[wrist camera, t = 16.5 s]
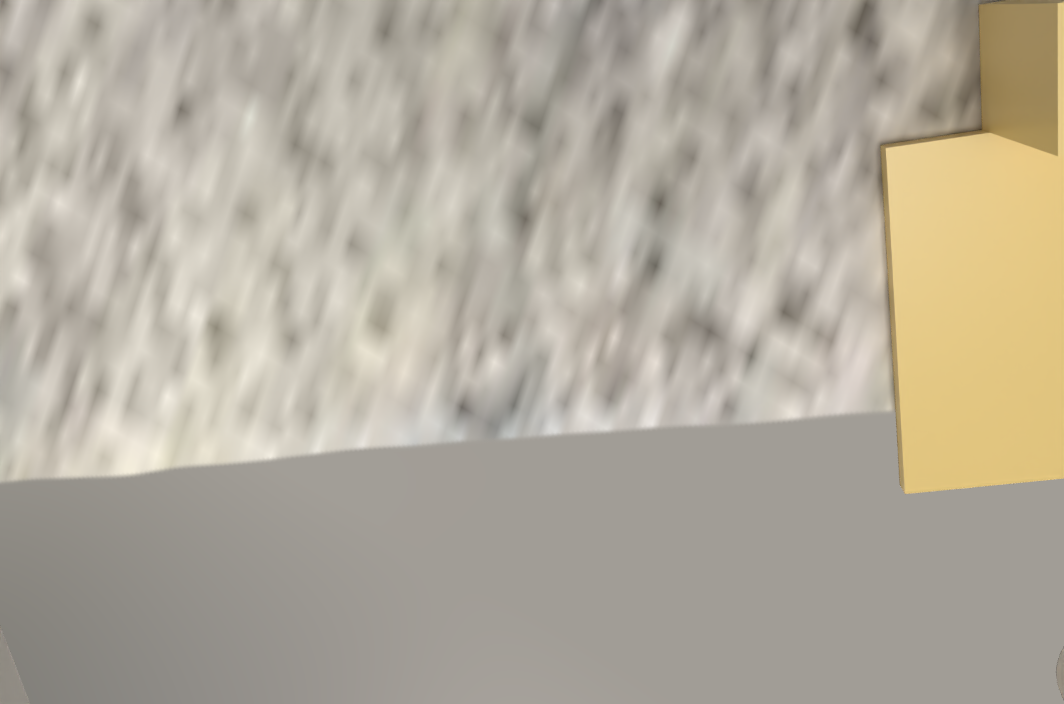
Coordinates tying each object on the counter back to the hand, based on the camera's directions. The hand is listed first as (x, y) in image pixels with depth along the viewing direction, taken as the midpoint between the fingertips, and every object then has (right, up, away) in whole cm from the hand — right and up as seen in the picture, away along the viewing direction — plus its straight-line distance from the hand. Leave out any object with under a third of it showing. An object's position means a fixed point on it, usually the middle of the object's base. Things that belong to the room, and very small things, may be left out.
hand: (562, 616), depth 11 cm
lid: (+21, +7, +32) cm, 39 cm away
